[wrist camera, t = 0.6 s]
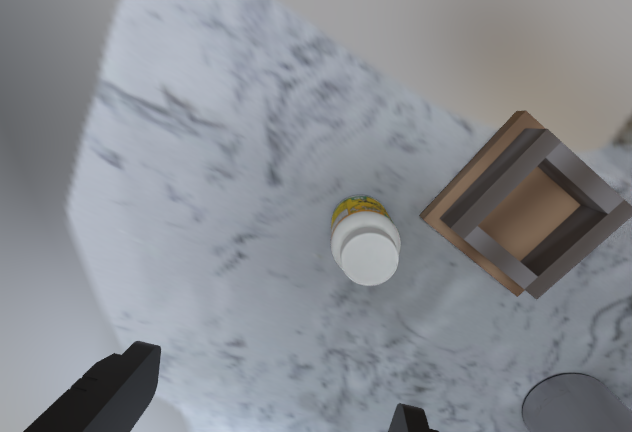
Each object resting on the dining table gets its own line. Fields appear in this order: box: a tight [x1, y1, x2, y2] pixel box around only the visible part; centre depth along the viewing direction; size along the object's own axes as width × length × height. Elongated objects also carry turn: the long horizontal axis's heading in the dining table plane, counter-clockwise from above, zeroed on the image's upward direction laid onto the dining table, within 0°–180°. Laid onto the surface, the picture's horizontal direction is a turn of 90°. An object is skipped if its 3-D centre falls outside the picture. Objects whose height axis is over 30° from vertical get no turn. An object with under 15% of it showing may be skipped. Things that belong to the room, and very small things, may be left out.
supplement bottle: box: [331, 195, 401, 286], centre depth 27 cm, size 5×5×10 cm
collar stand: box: [419, 111, 632, 299], centre depth 29 cm, size 12×12×4 cm
